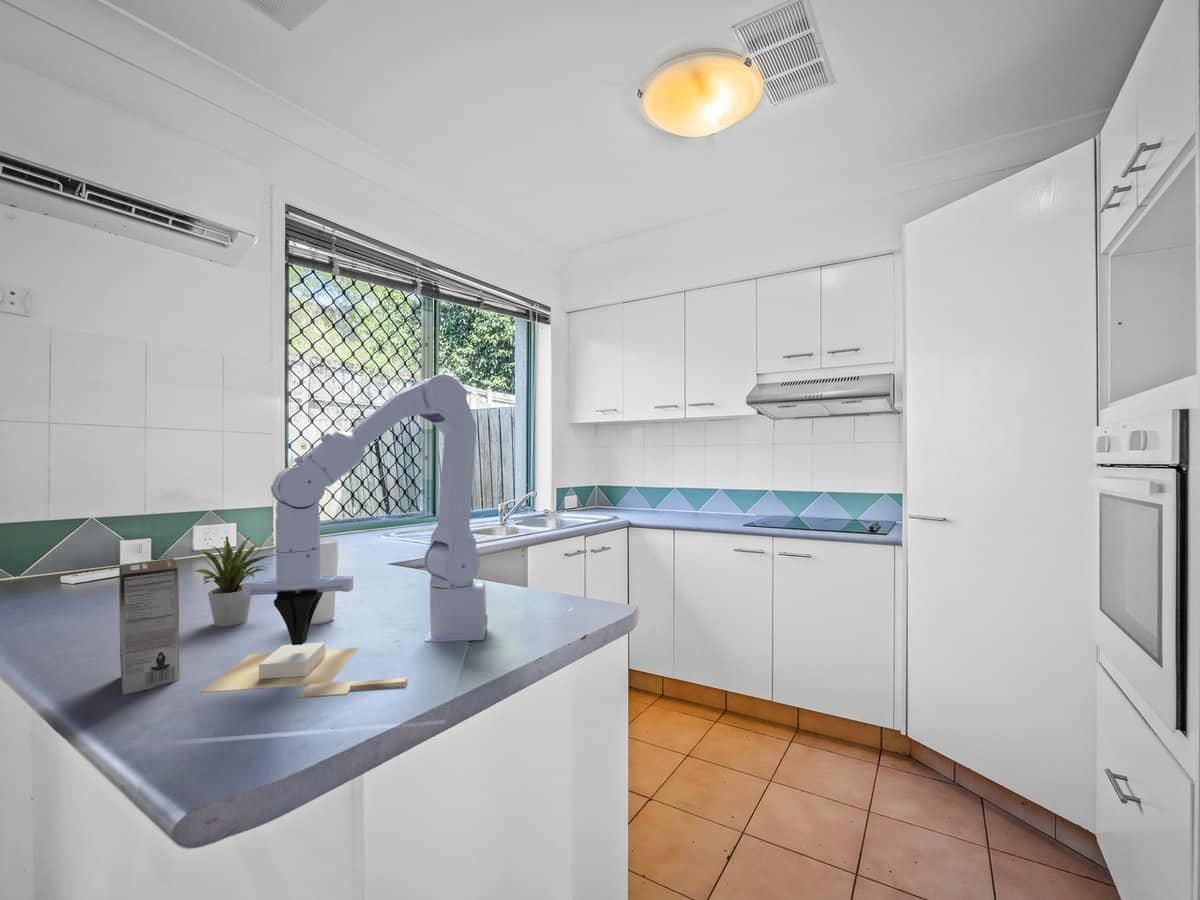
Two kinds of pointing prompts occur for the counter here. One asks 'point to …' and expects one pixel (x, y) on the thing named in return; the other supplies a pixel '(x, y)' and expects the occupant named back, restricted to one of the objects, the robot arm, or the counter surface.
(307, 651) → the white block
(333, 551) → the drinking glass
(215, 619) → the house plant
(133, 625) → the coffee box
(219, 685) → the bamboo mat
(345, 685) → the beech spatula
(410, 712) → the counter surface
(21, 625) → the counter surface
